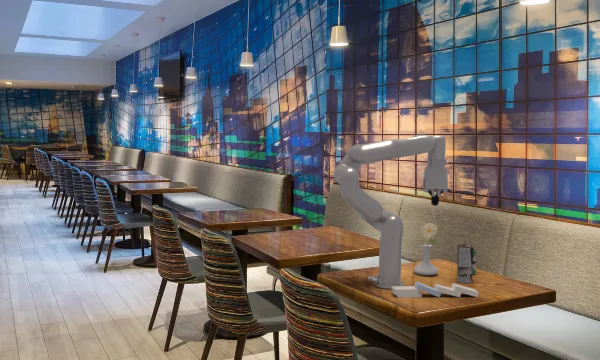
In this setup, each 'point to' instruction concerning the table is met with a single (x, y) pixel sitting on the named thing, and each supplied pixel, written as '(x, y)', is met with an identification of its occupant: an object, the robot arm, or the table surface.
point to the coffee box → (464, 263)
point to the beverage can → (474, 261)
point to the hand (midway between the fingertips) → (434, 205)
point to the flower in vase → (427, 251)
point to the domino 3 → (427, 289)
